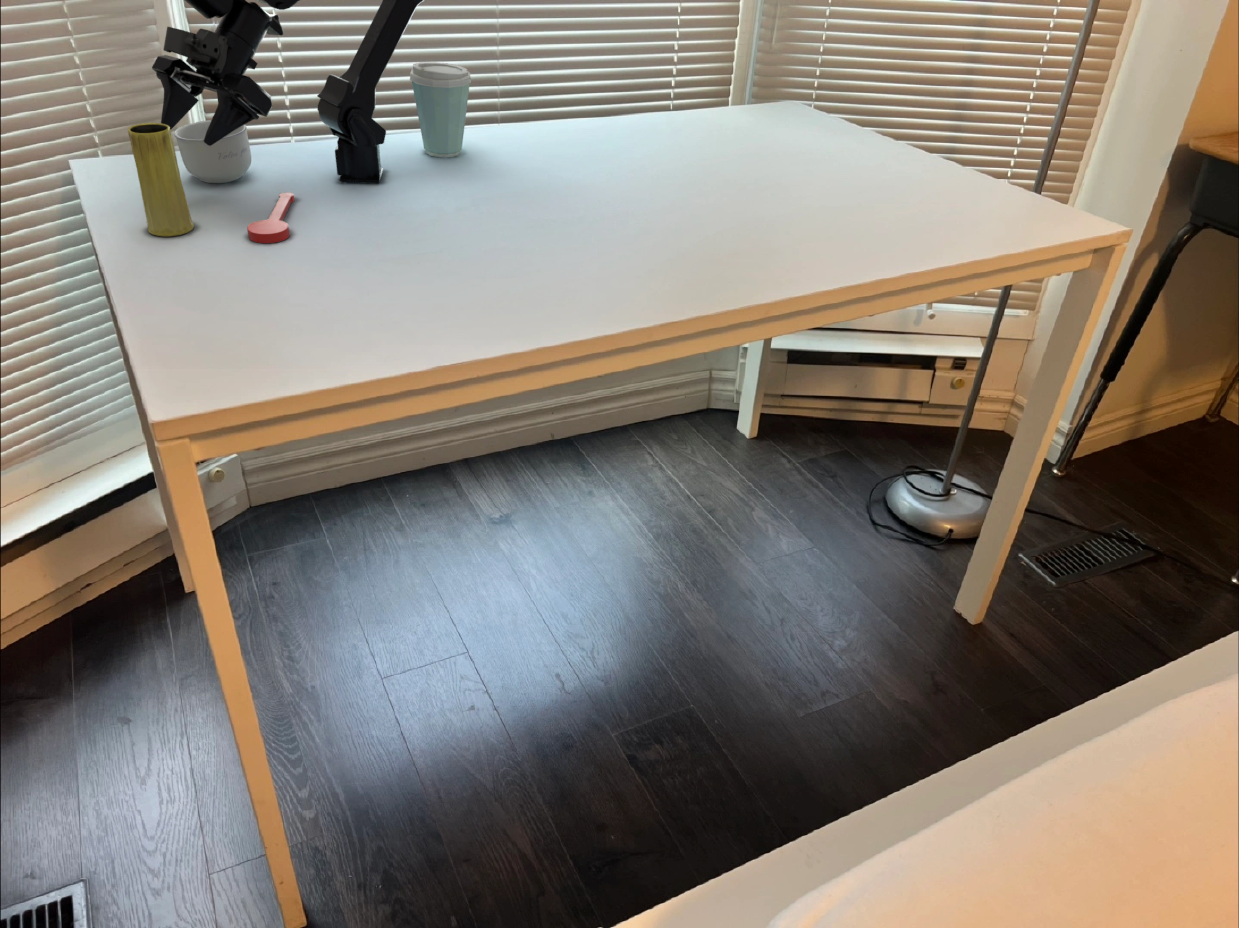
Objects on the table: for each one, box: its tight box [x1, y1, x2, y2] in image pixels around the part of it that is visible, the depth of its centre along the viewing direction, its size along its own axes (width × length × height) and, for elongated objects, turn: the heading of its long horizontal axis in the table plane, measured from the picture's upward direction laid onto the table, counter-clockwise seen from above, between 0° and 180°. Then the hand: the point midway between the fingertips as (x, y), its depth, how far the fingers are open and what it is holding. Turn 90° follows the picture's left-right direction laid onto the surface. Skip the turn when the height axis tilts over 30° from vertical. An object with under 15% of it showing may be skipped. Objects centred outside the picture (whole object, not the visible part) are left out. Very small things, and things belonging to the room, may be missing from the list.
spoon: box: [246, 191, 296, 244], centre depth 142 cm, size 6×18×1 cm, turn 6°
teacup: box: [173, 119, 252, 184], centre depth 154 cm, size 14×11×8 cm
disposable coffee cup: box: [409, 61, 472, 158], centre depth 168 cm, size 11×11×15 cm
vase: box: [127, 122, 195, 238], centre depth 133 cm, size 6×6×14 cm
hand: (184, 137), depth 134 cm, fingers open, 9 cm apart
